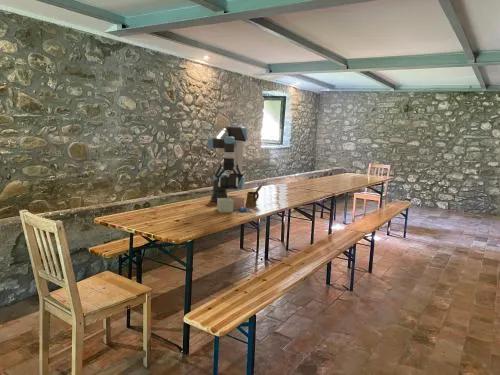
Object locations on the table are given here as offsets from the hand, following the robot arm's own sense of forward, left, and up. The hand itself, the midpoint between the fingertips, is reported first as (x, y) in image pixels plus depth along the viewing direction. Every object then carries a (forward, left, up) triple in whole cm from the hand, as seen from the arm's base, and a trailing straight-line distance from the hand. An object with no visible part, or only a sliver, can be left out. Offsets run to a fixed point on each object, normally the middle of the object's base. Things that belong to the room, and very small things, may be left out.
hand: (228, 186), depth 280 cm
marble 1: (+1, +10, -19) cm, 21 cm away
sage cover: (-1, -2, -19) cm, 19 cm away
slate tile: (+2, +11, -19) cm, 22 cm away
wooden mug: (-17, +25, -19) cm, 36 cm away
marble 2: (+4, +10, -19) cm, 22 cm away
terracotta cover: (-11, +9, -19) cm, 24 cm away
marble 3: (+2, +13, -19) cm, 23 cm away
